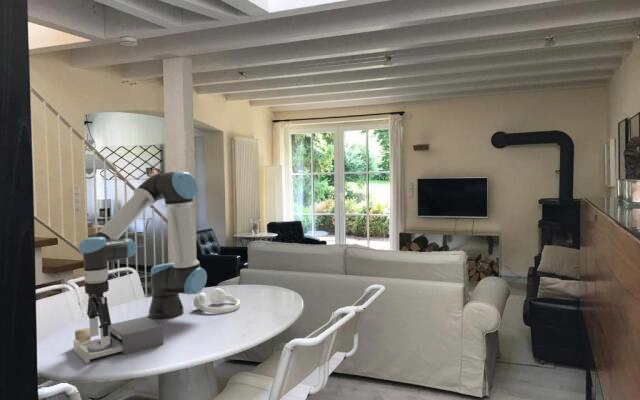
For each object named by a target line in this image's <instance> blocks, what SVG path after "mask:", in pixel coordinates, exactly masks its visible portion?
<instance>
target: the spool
mask: <svg viewBox="0 0 640 400" xmlns="http://www.w3.org/2000/svg"><path fill="white" fill-rule="evenodd" d="M74 336H75V339H74V340H77V341H78V342H80V343H81V344H82V343H86V342H90V341H92V339H91V338H92V337H90V327H89V328H88V327H87V328H80V329H76V330H75V331H74Z"/></svg>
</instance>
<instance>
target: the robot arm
mask: <svg viewBox="0 0 640 400" xmlns="http://www.w3.org/2000/svg"><path fill="white" fill-rule="evenodd" d="M197 193H198V184H197V180H196V179H195V177H194V176H193V175H192V174H191V173H190V172H187V171H171V172H158V173H155V174H153V175H151V176H150V177H148V178H147V179H145V180H144V181H143V182H142V183H141V184H140V185H138V187H137V188H135V190H134V195H132V196H131V198H129V200H127V201H126V203H124V204H123V206H121V207H120V208H119V210H118V211H116V213H114V215H113V216H112V217H110V219H109V220H108V221H107V222H106V223H105V224H104V225H103V226H102V227H101V228H100V229H99V230H98V231H97V232H96V233H95V234H94V235H93V236H91V237H87V238H84V239H83V240H81V241H80V242H79V245H78V252H79V254H80V255H81V256H82V257H83V258H82V259H83V260H82V262H83V272H84V273H82V276H83V277H84V282H85V283H84V293H85V294H87V295H88V299H87V300H88V303H87V311H86V314H87V316H88V318H89V321H88V322H89V329H90V337H91V338H93V337H96V336H100V339H101V346H105V345H109V344H110V333H109V326H110V325H111V324H112V321H111V316H110V311H109V306H108V305H109V304H108V298H107V297H108V296H104V293H107V292H108V291H109V289H110V287H109V266H108V263H111V262H113V261H114V262H115V261H121V260H126V259H129V258H132V257H134V255H135V254H136V252H137V246H136V243H135V241H134V240H133V239H132V238H129V237H127V238H120V237H122V235H123V234H124V233H125V232H126V231H127V230H128V229H129V228H130V227H131V225H133V223H134V222H136V220H138V218H139V217H140V216H141V215H142V213H143V212H145V210H146V209H147V208H148V207H151V206H153V205H154V204H155V203H156V202H158V201H161V200H164V203H165V206H167V207H168V208H169V215H170V224H171V231H172V233H171V234H172V241H173V250H174V258H175V259H174V260H175V261H174V262H168V263H160V264H157V265H153V266H152V267H151V268H150V286H151V301H150V302H151V303H150V306H149V309H148V318H149V319H151V318H152V319H161V320H162V319H169V318H175V317H178V316H181V315H182V314H184V311H185V309H184V306H183V302H182V300H181V298H180V294H184V295H185V294H186V295H197V294H200V293H201V291H203V289H204V288H205V286H206V284H207V281H208V280H207V279H208V275H207V271H206V270H205V269H204V268H202V267H201V263H200V261H199V260H198V259H197V258H196V248H195V240H194V239H195V238H194V232H193V231H194V229H193V223H192V222H193V221H192V213H191V205H192V203H193V202H194V197H195V196H196V195H197ZM119 238H120V239H119ZM99 323H100V325H99ZM99 332H100V333H99Z"/></svg>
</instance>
